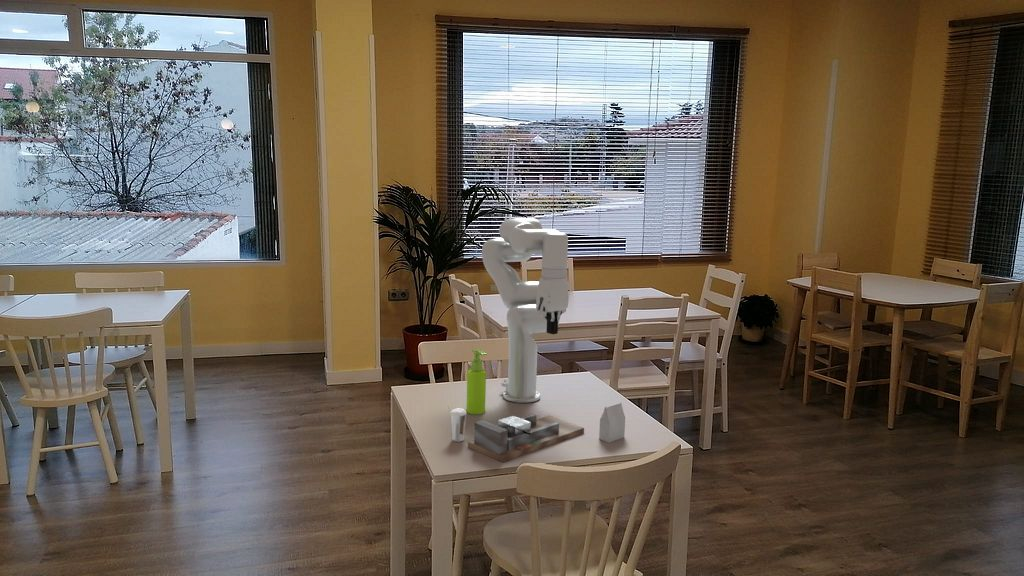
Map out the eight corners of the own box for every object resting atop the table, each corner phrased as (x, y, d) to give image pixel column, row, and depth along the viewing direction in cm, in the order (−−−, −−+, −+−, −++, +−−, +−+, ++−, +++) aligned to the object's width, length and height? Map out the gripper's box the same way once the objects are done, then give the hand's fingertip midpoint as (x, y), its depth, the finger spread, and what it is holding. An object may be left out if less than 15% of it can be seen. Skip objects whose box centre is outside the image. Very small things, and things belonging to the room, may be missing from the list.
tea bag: (624, 437, 215) (626, 404, 213) (608, 442, 210) (610, 409, 209) (614, 433, 217) (616, 401, 216) (599, 438, 213) (600, 405, 211)
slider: (512, 432, 211) (513, 415, 210) (538, 442, 204) (538, 425, 203) (489, 439, 205) (489, 422, 204) (515, 450, 198) (515, 432, 197)
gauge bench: (549, 419, 227) (550, 396, 226) (583, 432, 217) (585, 408, 216) (467, 446, 204) (468, 420, 203) (502, 462, 195) (503, 435, 193)
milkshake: (448, 436, 212) (448, 403, 210) (466, 437, 212) (467, 403, 210) (446, 442, 207) (446, 408, 206) (465, 443, 207) (465, 408, 205)
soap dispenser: (476, 416, 229) (477, 354, 225) (462, 410, 234) (463, 349, 230) (491, 412, 232) (492, 351, 229) (477, 406, 237) (478, 346, 234)
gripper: (561, 269, 229) (559, 327, 232) (527, 274, 218) (525, 334, 221) (580, 273, 223) (577, 332, 226) (546, 277, 213) (544, 339, 216)
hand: (552, 333), depth 224 cm, fingers closed
